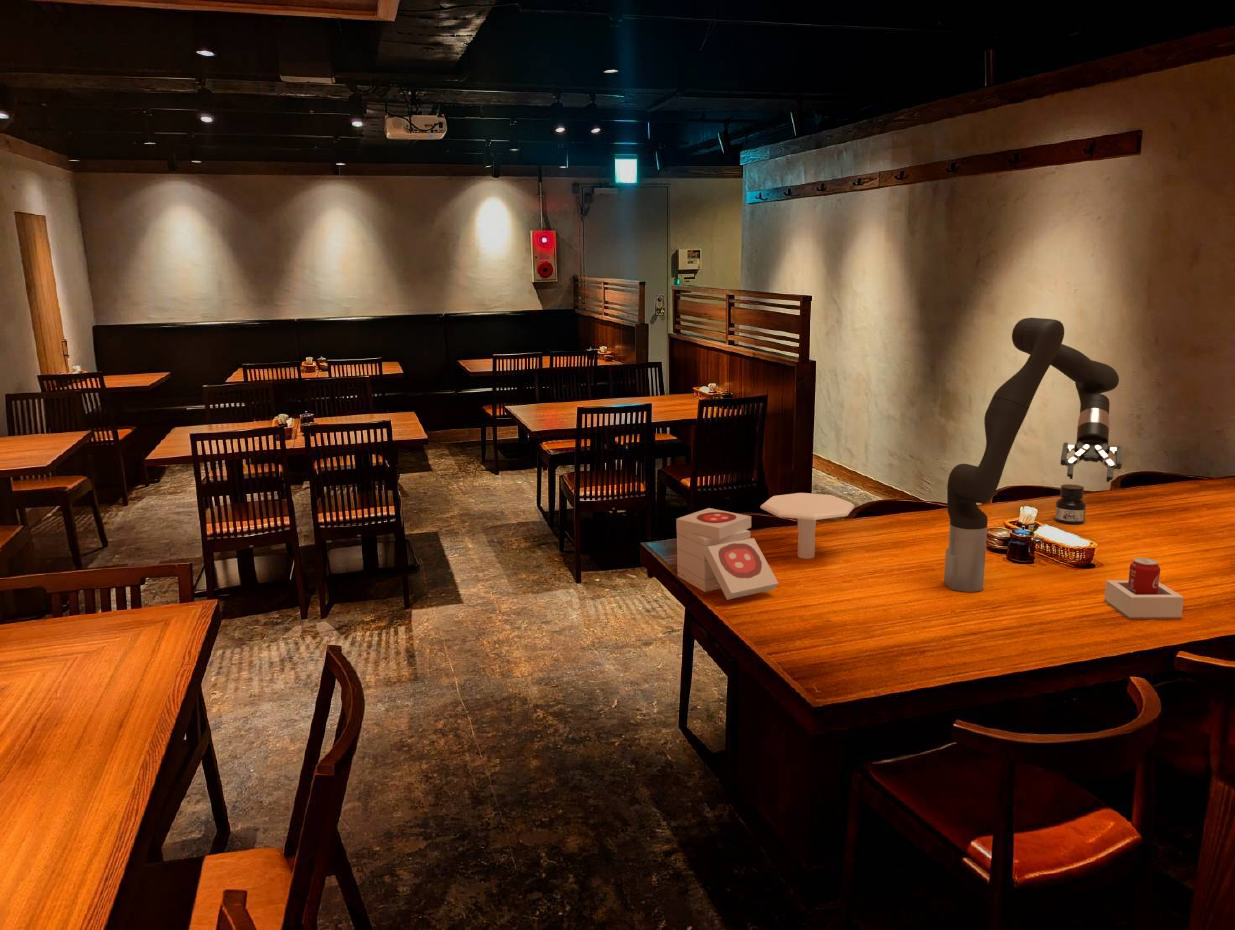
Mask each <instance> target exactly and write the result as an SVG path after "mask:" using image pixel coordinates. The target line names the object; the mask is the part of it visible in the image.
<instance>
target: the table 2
mask: <svg viewBox="0 0 1235 930" xmlns="http://www.w3.org/2000/svg"><path fill="white" fill-rule="evenodd" d="M854 508H855V504H853V503H852V502H851V501H848V500H845V499H843V498H841V497H838V496H835V495H831V494H821V493H819V494H818V493H811V492H810V493H808V492H796V493H789V494H788V493H787V494H780V495H778V494H777V495H773V496H772V497H770V498H769V499H767V500H766V501H765V502H764V503H762V504H761V505H760V509H761V510H763V511H766V512H767V513H770V514H772V515H774V516H776V517H780V518H788V519H789V518H790V519H797V532H798V539H797V557H798V558H800V559H806V560H810V559H814V558H815V556H816V554H815V553H816V537H815V536H816V529H817V528H816V526H817V520H823V519H832V518H840V517H847V516H849V514H850V513H851V512H852V511H853V510H854ZM799 553H800V554H801V555H800V554H799ZM813 554H814V555H813ZM806 555H807V556H806ZM808 555H809V556H808Z"/></svg>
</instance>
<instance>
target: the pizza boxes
mask: <svg viewBox="0 0 1235 930" xmlns="http://www.w3.org/2000/svg"><path fill="white" fill-rule="evenodd" d="M675 521H676V522H675V523H676V525H675V526H676V529H675V530H676V557H677V559H676V562H677V566H676V567H677V569H676V570H677V572H678V573H677V572H676V573H677V575H676V576H677V577H678V578H680V579H682V580H684V581H686V582H687V583H688V584H690V585H692V586H694V587H696V588H698V589H699V590H701V591H703V592H705V593H706V592H711V591H716V590H720V589H721V590H722V593H723V595H724V596H725V598H726V600H727V601H728V600H732V599H737V598H742V597H746V596H751V595H755V594H759V593H764V592H769V591H773V590H775V589H776V587H777V586H778V585H779V582H778V579H777V578H776V576H775V574H774V573H773V570H772V569H771V566H770V565H769V563H768V561H767V560H766V558H765V556H764V554H763V552H762V551H761V548H760V547H759V544H757V541H756V539H755V538H754V537H752V538H751V531H750V530H748V529H751V528H752V516H751V515H745V514H741V513H736V512H730V511H726V510H720V509H717V508H716V509H715V508H711V507H708V508H705V509H702V510H699V511H695V512H692V513H690V514H686V515H684V516H680V517H678V518H676V520H675ZM679 573H680V574H679ZM681 574H682V575H684V576H685V577H684V576H682V575H681ZM686 577H687V578H686ZM689 579H690V580H689ZM691 580H692V581H691ZM693 581H694V582H693ZM696 583H697V584H696ZM698 584H699V585H698ZM700 585H701V586H700ZM715 585H718V586H715ZM711 586H713V587H711ZM703 587H704V588H703ZM706 587H708V588H706Z"/></svg>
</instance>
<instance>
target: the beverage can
mask: <svg viewBox="0 0 1235 930" xmlns="http://www.w3.org/2000/svg"><path fill="white" fill-rule="evenodd" d="M1158 563H1159V562H1158V561H1157V560H1155V559H1153V558H1147V557H1135V558H1134V559H1133V561H1132V562H1131V563H1130V565H1129V572H1128V573H1129V574H1128V580H1129V581H1128V590H1129V591H1130V592H1132V593H1133V594H1135V595H1158V586H1159V582H1160V575H1161V567H1160V565H1159V564H1158Z"/></svg>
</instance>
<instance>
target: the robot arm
mask: <svg viewBox="0 0 1235 930" xmlns="http://www.w3.org/2000/svg"><path fill="white" fill-rule="evenodd" d="M1064 338H1065V327H1064V324H1063V323H1062V322H1061V320H1058V319H1055V318H1054V319H1053V318H1044V317H1043V318H1041V317H1039V318H1038V317H1025V318H1022V319H1020V320H1018V321H1017V323H1015V325H1014V327H1013V329H1012V333H1011V341H1012V343H1013V346H1014V347H1015V348H1016V349H1017V350H1018V351H1021V352H1023V353H1025V354H1028V355H1029V356H1028V358H1027V360H1026V361H1025V364H1024V365H1022V367H1021V368H1020V369H1019V370H1018V371H1016V373H1015V374H1013V376H1011V377H1010V378H1009V379H1007V380H1006V381H1005V382H1004V383H1003V384H1001V385H1000V386H999V387H998V388H997V390H996V391H995V392H994V394H993V396H992V398H991V399H990V402H989V404H988V407H987V409H986V411H985V414H984V423H983V425H984V432H985V441H986V443H985V449H984V452H983V456H982V458H981V460H980V463H978V466H977V465H972V464H969V463H959V464H957V465H955V466H954V467H953V468H951V471H950V473H949V476H948V479H947V488H946V491H947V492H946V495H947V496H946V497H947V499H946V501H947V504H946V505H947V506H946V507H947V508H946V509H947V513H948V516H949V517H948V518H949V532H948V535H949V536H948V547H947V548H946V549H945V555H944V556H945V558H944V573H943V574H944V576H943V583H944V584H945V585H946V586H947V587H948V589H949V590H950V591H959V592H965V593H976V592H980V591H982V590H983V589H984V585H985V569H986V555H987V554H986V551H987V540H988V539H987V538H988V537H987V536H988V535H987V534H988V520H989V518H988V516H987V514H986V513H985V512H984V511H982V510H981V508H980V507H979V506H978V504H985V503H987V502H988V501H990V500H991V499H992V498H993V497H994V495H995V494H996V491H997V490H998V488H999V487H998V486H999V484H1000V481H1001V478H1002V475H1003V472H1004V469H1005V466H1006V463H1007V461H1008V457H1009V454H1010V452H1011V450H1012V447H1013V444H1014V442H1015V440H1016V437H1017V436H1018V433H1019V431H1020V429H1021V426H1022V425H1023V423H1024V421H1025V419H1026V416H1027V415H1028V412H1029V409H1030V407H1031V403H1032V401H1033V399H1034V397H1035V395H1036V394H1037V390H1038V389H1039V387H1040V385H1041V382H1042V381H1043V379H1044V376H1045V375H1046V373H1047V371H1048V369H1049V368H1050V366H1052V367H1053V368H1054V369H1057V371H1059V372H1060V373H1062V374H1063V375H1065V376H1066V377H1067V378H1068V379H1070V380H1071V381H1073V382H1074V384H1075V390H1076V391H1077V395H1078V399H1079V404H1080V408H1079V416H1078V420H1077V427H1076V443H1075V444H1069V443H1068V442H1067V441H1066V442H1063V445H1062V449H1061V450H1062V451H1061V456H1060V462H1059V463H1060V465H1061V466H1066V467H1067V472H1066V476H1067V477H1068V478H1069V480H1073V476H1074V466H1076V465H1077V464H1079V463H1080V462H1082V461H1084V462H1093V463H1098V462H1100V463H1101V464H1102V465H1103V466H1104V467H1105V468H1106V480H1105V482H1107V483H1110V481H1112V480H1113V479H1114V470H1120V469H1122V465H1123V447H1122V445H1120V444H1119V445H1117V446H1116V447H1115V446H1114V447H1113V446H1111V447H1110V446H1109V440H1110V405H1111V404H1110V398H1109V397H1108V396H1106V395H1105V394H1103V393H1107V392H1112V391H1113V390H1114V389H1116V388H1117V387H1118V385H1119V383H1120V377H1119V374H1118V372H1117V371H1116V370H1115V368H1113V367H1112V366H1110V365H1108V364H1106V363H1104V362H1099V361H1097V360H1092V359H1091V358H1090V357H1088V356H1086V355H1085V354H1084V353H1083V352H1081V351H1080V350H1078V349H1075V348H1073V347H1071V346H1069V345H1066V344H1063V340H1064ZM1072 451H1074V454H1073V456H1072V457H1070V458H1067V456H1068V454H1070V453H1071V452H1072ZM1109 453H1112V455H1113V456H1114V457H1115V461H1113V460H1112V459H1111V458H1110V456H1109Z"/></svg>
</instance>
